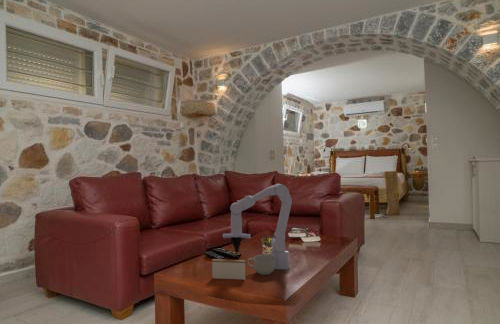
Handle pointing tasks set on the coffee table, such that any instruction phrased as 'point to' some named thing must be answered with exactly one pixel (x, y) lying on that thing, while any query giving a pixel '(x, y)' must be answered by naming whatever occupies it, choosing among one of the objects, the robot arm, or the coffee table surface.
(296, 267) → the coffee table surface
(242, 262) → the cream slab
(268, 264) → the teacup
